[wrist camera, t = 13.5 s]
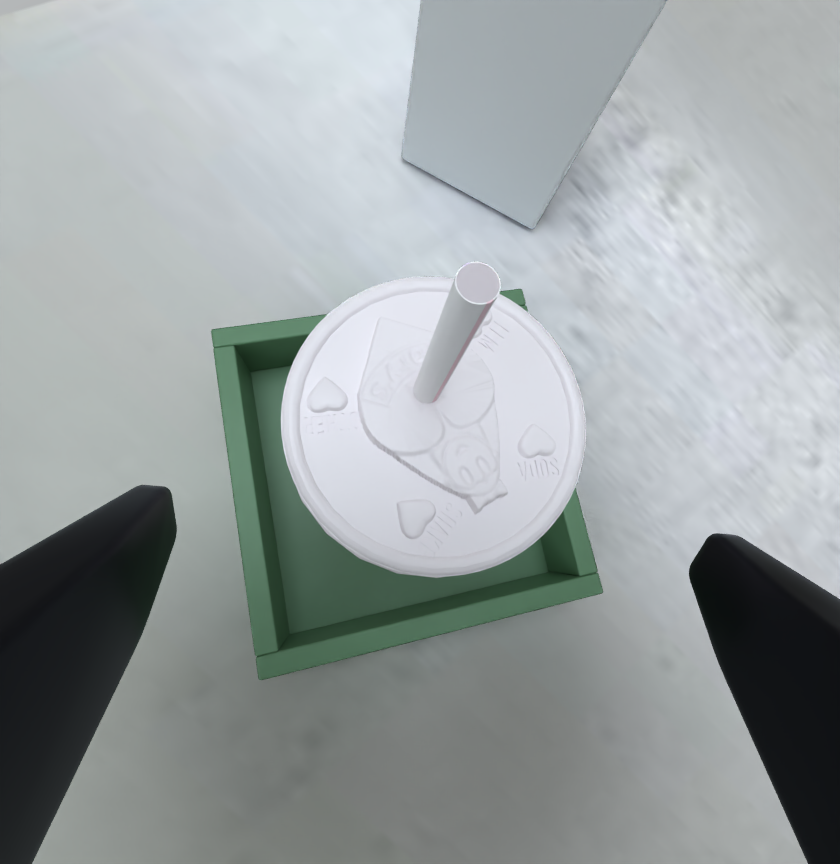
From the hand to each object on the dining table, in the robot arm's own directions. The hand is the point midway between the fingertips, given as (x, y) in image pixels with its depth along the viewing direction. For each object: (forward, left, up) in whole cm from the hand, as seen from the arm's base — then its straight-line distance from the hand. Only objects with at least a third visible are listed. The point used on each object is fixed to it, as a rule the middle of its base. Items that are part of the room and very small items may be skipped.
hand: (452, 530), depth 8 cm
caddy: (+2, -1, -11) cm, 12 cm away
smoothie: (+2, -1, -11) cm, 11 cm away
